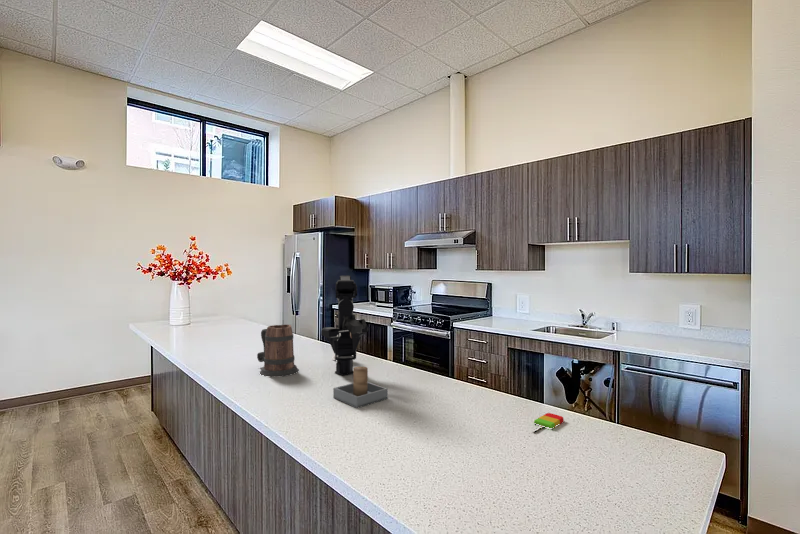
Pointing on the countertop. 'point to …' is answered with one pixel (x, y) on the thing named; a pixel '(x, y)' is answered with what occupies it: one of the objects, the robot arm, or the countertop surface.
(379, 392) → the tote
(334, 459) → the countertop surface
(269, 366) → the tankard
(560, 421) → the popsicle
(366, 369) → the walnut cylinder
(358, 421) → the countertop surface
